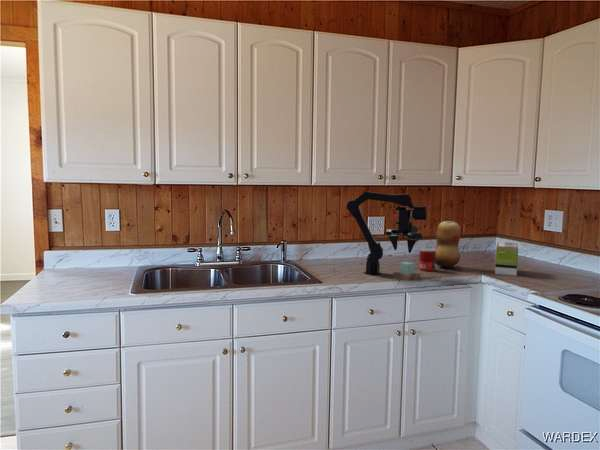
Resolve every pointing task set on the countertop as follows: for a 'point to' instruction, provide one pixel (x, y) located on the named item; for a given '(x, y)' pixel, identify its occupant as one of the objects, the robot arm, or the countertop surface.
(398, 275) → the walnut base
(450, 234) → the butternut squash
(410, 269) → the teal block
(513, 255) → the tea box
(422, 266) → the canned food
